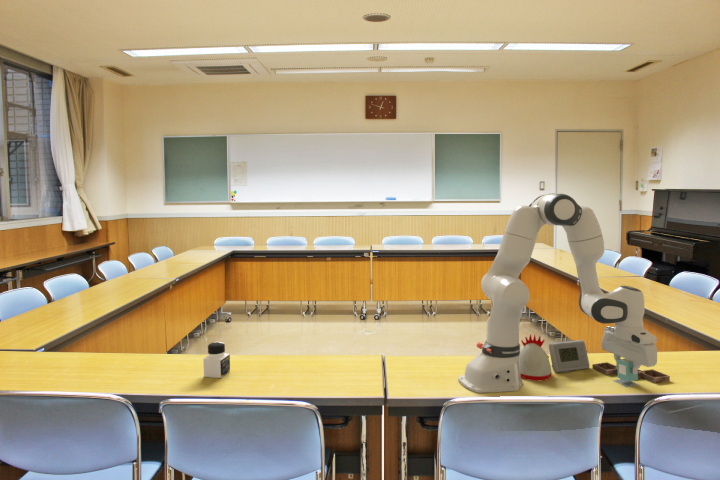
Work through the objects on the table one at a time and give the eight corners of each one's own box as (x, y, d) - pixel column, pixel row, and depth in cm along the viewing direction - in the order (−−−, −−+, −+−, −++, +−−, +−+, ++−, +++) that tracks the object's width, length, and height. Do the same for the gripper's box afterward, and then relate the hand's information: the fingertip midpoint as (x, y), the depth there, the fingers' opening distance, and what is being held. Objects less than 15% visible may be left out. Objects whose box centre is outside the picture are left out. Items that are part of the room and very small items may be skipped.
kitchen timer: (552, 382, 167) (553, 341, 165) (511, 378, 171) (512, 338, 170) (550, 369, 180) (551, 331, 178) (512, 365, 184) (513, 328, 183)
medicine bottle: (221, 378, 171) (220, 346, 170) (203, 377, 173) (202, 345, 172) (230, 371, 178) (229, 340, 177) (213, 370, 180) (212, 339, 179)
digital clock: (553, 374, 175) (554, 346, 174) (542, 365, 184) (543, 339, 183) (595, 372, 176) (596, 345, 175) (581, 364, 185) (583, 338, 184)
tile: (626, 388, 162) (626, 387, 161) (612, 381, 167) (612, 380, 167) (639, 385, 163) (639, 384, 163) (625, 379, 169) (625, 378, 169)
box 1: (606, 376, 172) (607, 370, 172) (592, 369, 179) (592, 364, 179) (621, 374, 174) (622, 368, 174) (606, 367, 181) (607, 362, 181)
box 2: (630, 380, 168) (630, 374, 168) (614, 373, 175) (614, 367, 175) (645, 378, 170) (645, 372, 170) (628, 371, 177) (629, 365, 177)
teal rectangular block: (627, 381, 162) (627, 362, 162) (617, 377, 166) (616, 359, 166) (637, 379, 163) (637, 361, 163) (627, 376, 168) (626, 358, 168)
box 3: (654, 384, 165) (654, 378, 164) (637, 377, 171) (637, 371, 171) (669, 382, 167) (669, 376, 166) (652, 375, 173) (652, 369, 173)
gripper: (598, 325, 173) (596, 361, 174) (646, 341, 153) (644, 382, 154) (611, 323, 174) (610, 359, 176) (661, 339, 155) (659, 379, 156)
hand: (626, 370), depth 165 cm, fingers closed on teal rectangular block, 5 cm apart
